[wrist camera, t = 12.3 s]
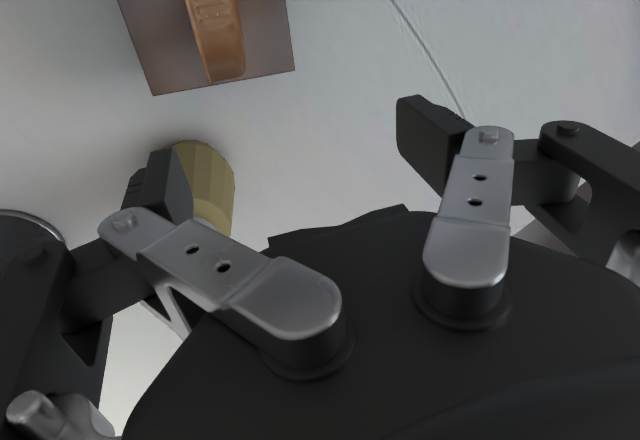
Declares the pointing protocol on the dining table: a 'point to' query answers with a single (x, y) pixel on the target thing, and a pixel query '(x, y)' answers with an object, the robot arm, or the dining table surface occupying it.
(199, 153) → the squeeze bottle
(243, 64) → the tin
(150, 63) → the stand
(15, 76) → the dining table surface
